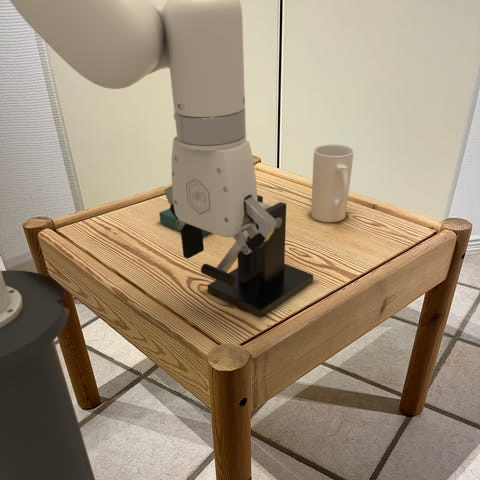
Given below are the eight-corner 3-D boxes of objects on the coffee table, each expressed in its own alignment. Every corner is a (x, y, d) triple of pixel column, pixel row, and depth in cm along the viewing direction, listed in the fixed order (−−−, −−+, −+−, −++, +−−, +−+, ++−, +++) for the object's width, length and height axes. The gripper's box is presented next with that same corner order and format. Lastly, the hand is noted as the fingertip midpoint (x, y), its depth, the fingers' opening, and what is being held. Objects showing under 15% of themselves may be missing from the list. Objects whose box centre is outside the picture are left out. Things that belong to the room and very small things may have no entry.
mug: (305, 210, 97) (308, 146, 90) (338, 206, 98) (344, 142, 91) (323, 233, 89) (328, 164, 82) (359, 228, 90) (368, 160, 83)
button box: (198, 239, 88) (197, 217, 85) (160, 223, 93) (157, 203, 91) (245, 216, 95) (244, 196, 93) (206, 203, 100) (205, 183, 98)
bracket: (261, 317, 68) (261, 230, 61) (207, 292, 74) (202, 208, 67) (313, 281, 76) (318, 199, 68) (261, 260, 81) (261, 182, 74)
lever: (232, 290, 66) (225, 280, 64) (205, 277, 68) (197, 267, 66) (284, 219, 68) (279, 207, 66) (255, 210, 71) (249, 198, 69)
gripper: (133, 122, 58) (153, 256, 68) (248, 150, 48) (252, 301, 58) (181, 109, 62) (194, 236, 72) (296, 131, 53) (292, 275, 63)
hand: (220, 265), depth 65 cm, fingers open, 9 cm apart
